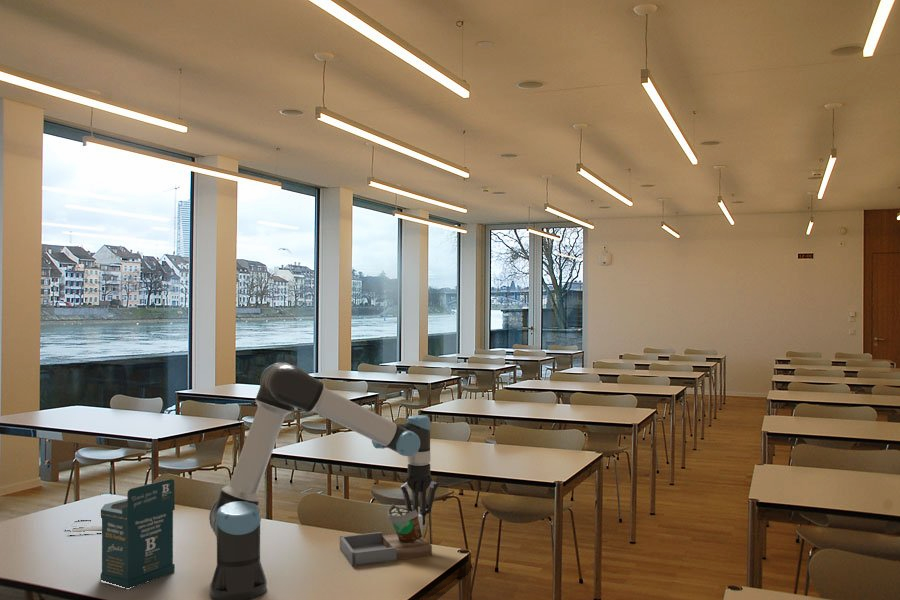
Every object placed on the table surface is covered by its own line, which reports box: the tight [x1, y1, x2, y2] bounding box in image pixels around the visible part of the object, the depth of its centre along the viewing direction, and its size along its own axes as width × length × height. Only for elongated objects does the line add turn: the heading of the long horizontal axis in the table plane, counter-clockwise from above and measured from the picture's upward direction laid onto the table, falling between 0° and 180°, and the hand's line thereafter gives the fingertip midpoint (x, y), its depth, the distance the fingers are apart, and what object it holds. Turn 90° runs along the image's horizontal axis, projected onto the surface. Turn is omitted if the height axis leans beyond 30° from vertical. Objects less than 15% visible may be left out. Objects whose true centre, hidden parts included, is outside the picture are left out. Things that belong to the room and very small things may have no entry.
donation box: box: [100, 478, 176, 588], centre depth 216 cm, size 16×16×28 cm
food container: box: [387, 503, 423, 542], centre depth 237 cm, size 12×6×10 cm, turn 42°
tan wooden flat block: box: [382, 533, 433, 561], centre depth 238 cm, size 16×12×3 cm
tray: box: [339, 531, 398, 567], centre depth 233 cm, size 18×14×4 cm
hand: (419, 535), depth 240 cm, fingers closed
